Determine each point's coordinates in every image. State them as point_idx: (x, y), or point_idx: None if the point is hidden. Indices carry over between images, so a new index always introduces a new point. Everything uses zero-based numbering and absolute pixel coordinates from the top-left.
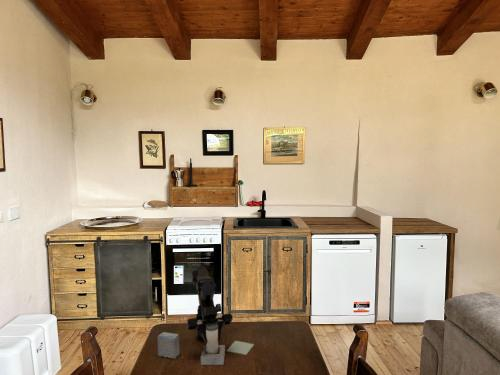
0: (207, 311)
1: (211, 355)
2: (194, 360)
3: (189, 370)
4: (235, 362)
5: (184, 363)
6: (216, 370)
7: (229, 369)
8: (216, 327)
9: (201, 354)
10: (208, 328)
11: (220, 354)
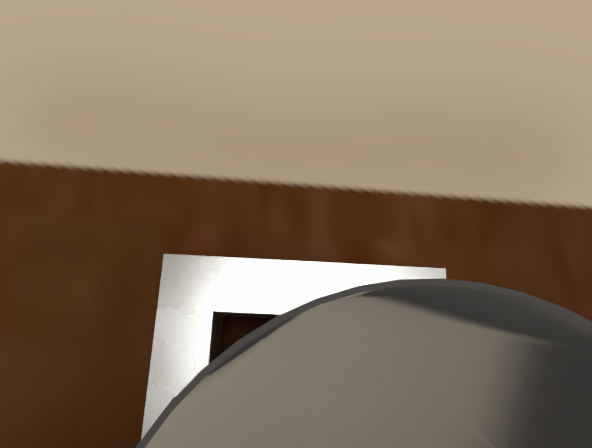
0: None
1: (315, 284)
2: None
3: (502, 200)
4: (55, 307)
5: None
6: (254, 180)
7: (131, 186)
8: (166, 412)
9: None
10: (575, 321)
11: (199, 297)
